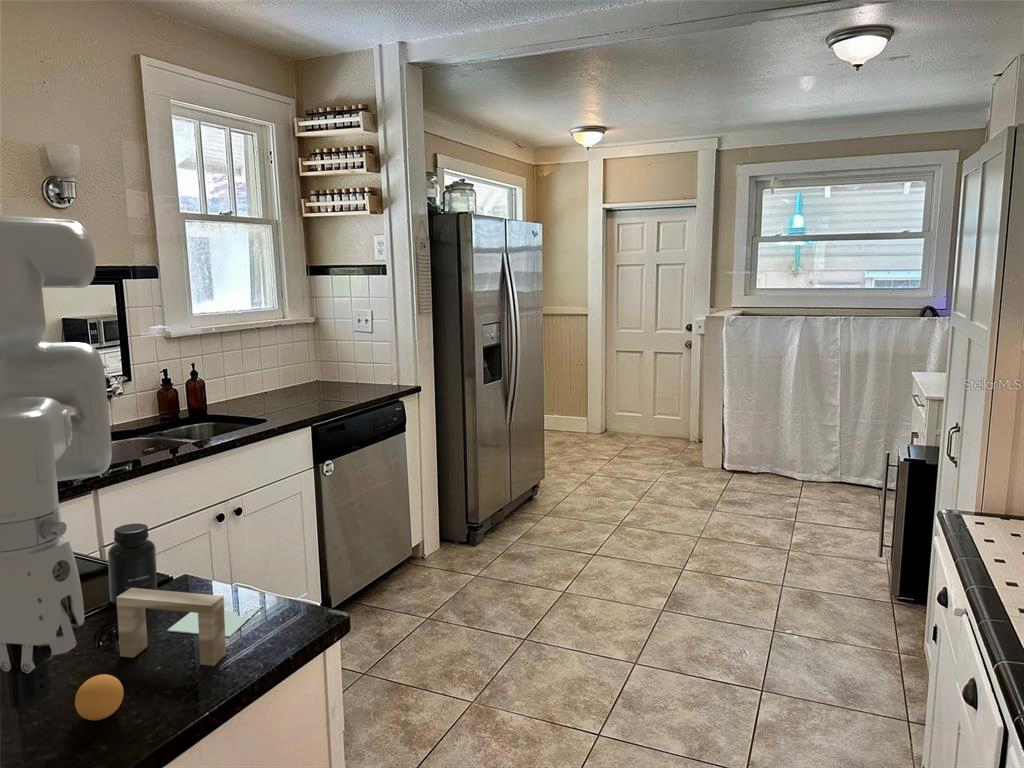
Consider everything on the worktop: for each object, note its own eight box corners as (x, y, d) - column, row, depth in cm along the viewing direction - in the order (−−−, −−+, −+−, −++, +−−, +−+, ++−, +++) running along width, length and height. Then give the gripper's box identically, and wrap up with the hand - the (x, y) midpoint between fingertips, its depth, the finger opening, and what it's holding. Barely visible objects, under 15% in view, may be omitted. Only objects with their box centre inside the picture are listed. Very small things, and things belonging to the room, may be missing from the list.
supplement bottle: (137, 609, 110) (133, 537, 109) (100, 605, 112) (95, 533, 110) (167, 591, 117) (163, 522, 115) (131, 587, 118) (127, 519, 117)
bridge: (213, 666, 95) (211, 605, 94) (120, 656, 97) (116, 597, 95) (225, 654, 98) (223, 595, 96) (134, 645, 100) (131, 587, 98)
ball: (66, 727, 81) (63, 687, 81) (97, 702, 86) (94, 664, 86) (104, 731, 81) (102, 691, 80) (134, 706, 86) (131, 668, 85)
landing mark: (167, 631, 104) (167, 630, 104) (205, 601, 114) (205, 600, 114) (230, 637, 102) (229, 636, 102) (263, 606, 112) (263, 605, 112)
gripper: (109, 522, 73) (120, 687, 75) (-17, 516, 75) (-2, 676, 77) (52, 548, 65) (67, 730, 68) (-86, 539, 68) (-67, 716, 70)
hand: (30, 701), depth 72 cm, fingers closed
